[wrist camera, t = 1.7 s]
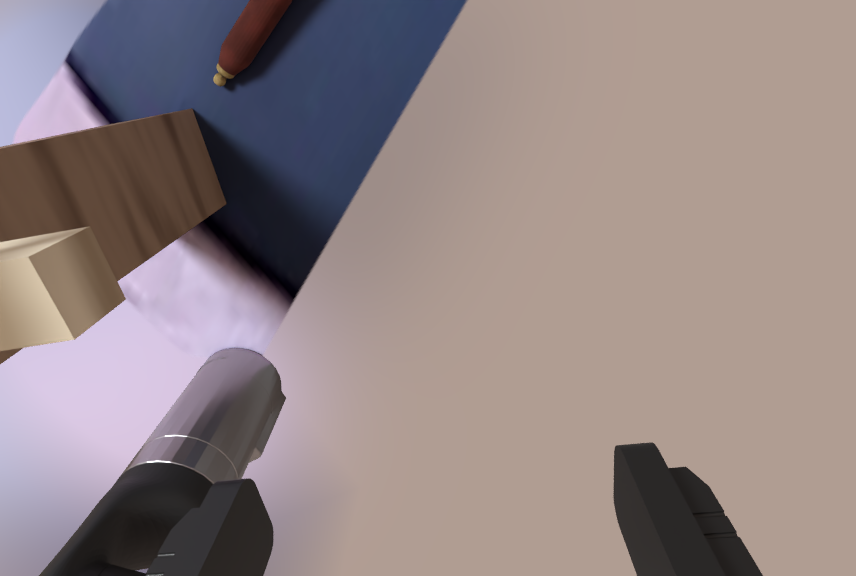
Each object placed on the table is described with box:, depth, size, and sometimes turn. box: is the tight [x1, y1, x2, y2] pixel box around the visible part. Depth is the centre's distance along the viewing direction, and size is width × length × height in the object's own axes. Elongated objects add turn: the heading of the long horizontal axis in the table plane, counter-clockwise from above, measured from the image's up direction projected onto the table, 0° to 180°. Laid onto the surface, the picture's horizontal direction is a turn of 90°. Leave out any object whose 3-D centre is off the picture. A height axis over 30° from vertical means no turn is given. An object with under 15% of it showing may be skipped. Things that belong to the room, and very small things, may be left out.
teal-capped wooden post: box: [0, 109, 226, 364], centre depth 33 cm, size 8×9×30 cm
